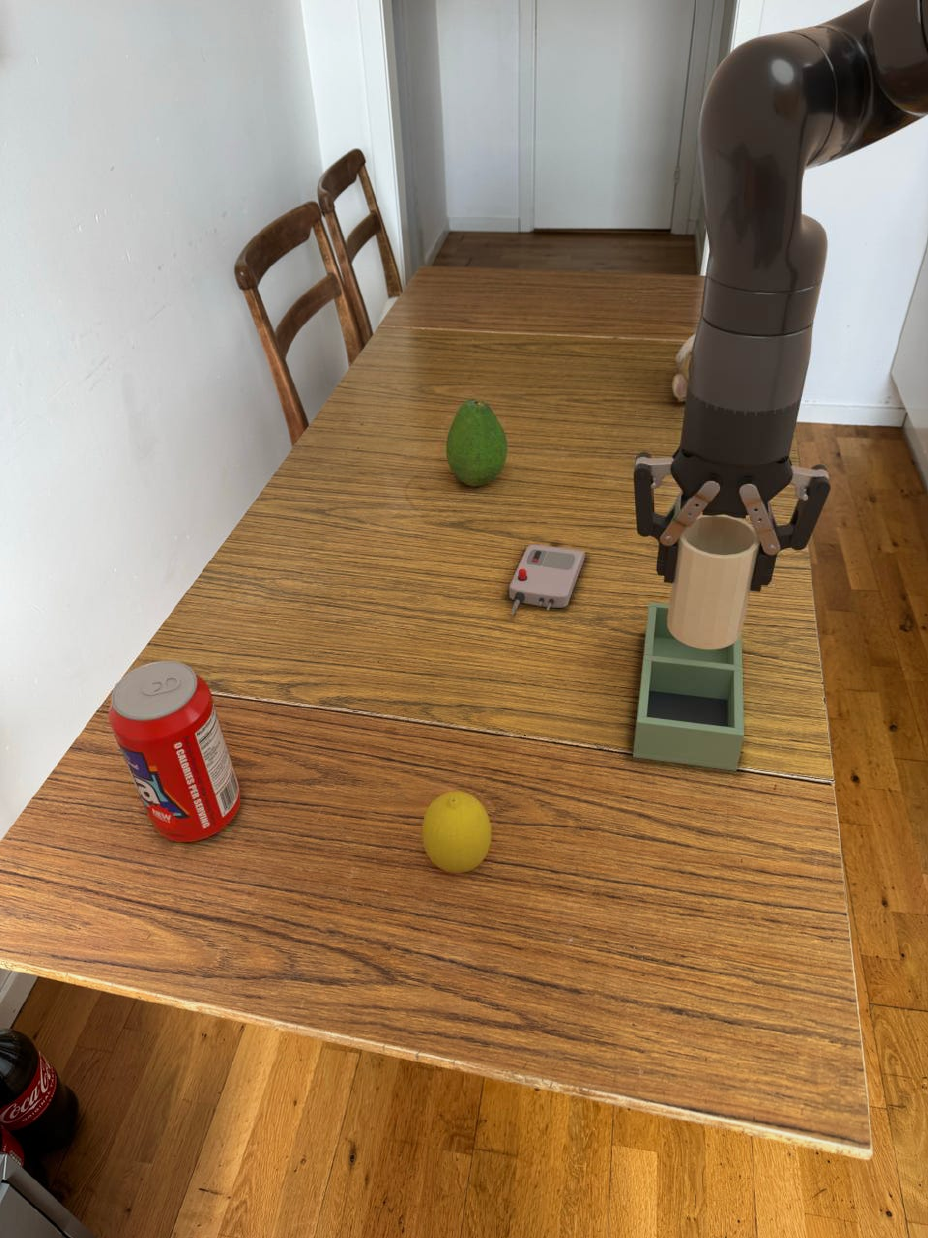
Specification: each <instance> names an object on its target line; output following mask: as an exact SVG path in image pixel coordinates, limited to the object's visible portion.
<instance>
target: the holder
mask: <svg viewBox="0 0 928 1238" xmlns="http://www.w3.org/2000/svg"><path fill="white" fill-rule="evenodd" d="M668 608H669V603H665V602H654V601H649V602H648V608H647V618H646V627H645V636H644V644H643V645H644V646H643V655H642V664H641V674H640V682H639V684H640V685H639V693H638V702H637V712H636V713H637V714H636V724H635V732H634V741H633V742H634V743H633V752H632V758H637V759H644V760H651V761H658V762H667V763H673V764H681V765H687V766H688V765H689V766H696V767H703V768H711V769H718V770H724V771H725V770H726V771H733V772H736V771H737V769H738V764H739V761H740V757H741V756H740V755H741V751H742V748H743V747H742V746H743V742H744V738H745V720H744V719H745V718H744V717H745V715H744V714H745V713H744V677H743V676H744V674H743V673H744V672H743V638H742V635H743V634H742V632H741V635H740V637H739V638H738V640H737V641H736V642H734V643H733V644H731V645H730V646H727V647H724V648H720V649H699V648H694V647H691V646H688V645H686V644H684V643H682V642H680V641H679V640H677V639H676V638H675V637H674V636H673V635H672V634H671V633H670V631H669V629H668V627H667V616H668Z"/></svg>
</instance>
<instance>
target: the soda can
mask: <svg viewBox="0 0 928 1238" xmlns="http://www.w3.org/2000/svg"><path fill="white" fill-rule="evenodd" d="M110 701H111V703H110V706H109V709H108V721H109V726H110V728H111V731H112V733H113V735H114V738H115V740H116V743H117V745H118V747H119V750H120V752H121V755H122V757H123V759H124V761H125V764H126V766H127V770H128V771H129V774H130V776H131V778H132V781H133V783H134V786H135V789H136V790H137V792H138V796H139V798H140V800H141V803H142V805H143V808H144V810H145V812H146V814H147V817H148V819H149V821H150V824H151V825H152V827H153V828H154V830H155V831H156V833H157V834H158V835H160V836H161V837H163V838H165V839H168V840H170V841H175V842H181V843H188V842H196V841H200V840H203V839H207V838H208V837H211V836H213V835H215V834H217V833H218V832H220V831H221V830H223V829H224V828H225V827H226V826H227V825H229V824H230V823H231V822H232V820H233V819H234V818H235V816H236V814H237V813H238V811H239V808H240V807H241V806H240V805H241V802H242V793H241V787H240V784H239V781H238V778H237V774H236V770H235V768H234V767H235V766H234V765H233V764H234V763H233V761H232V757H231V754H230V751H229V747H228V745H227V740H226V738H225V735H224V734H225V733H224V731H223V728H222V724H221V722H220V717H219V715H218V712H217V709H216V705H215V702H214V698H213V695H212V692H211V689H210V686H209V685H208V684H207V682H206V681H205V679H204V678H203V677H201V676H199V675H198V674H196V672H195V671H194V670H193V669H192V668H191V667H190V666H188V665H187V664H185V663H182V662H179V661H176V660H158V661H153V662H149V663H147V664H146V663H145V664H143V665H141V666H139V667H136V668H134V669H133V670H131V671H129V672H128V673H126V674H125V675H124V676H122V677H121V679H119V681H118V682H117V683H116V684H115V686H114V688H113V690H112V692H111V697H110Z"/></svg>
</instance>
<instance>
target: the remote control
mask: <svg viewBox="0 0 928 1238" xmlns="http://www.w3.org/2000/svg"><path fill="white" fill-rule="evenodd" d="M522 555H523V556H522V557H521V559H520V562H519V564H518V566H517V568H516V571H515V573H514V575H513V577H512V579H511V581H510V584H509V585H508V586H509V587H508V588H509V589H508V590H509V598H510V599H511V600H513V602H514V603H513V605H512V609H511V611H510V615H509V616H510V617H514V615H515V612H516V611H517V610H518V608H519V605H520V604H522V603H523V604H526V605H533V606H538V607H545V608H546V612H549V611H550V609H551V608H554V609H557V608H566V607H567V606H568V605H569V602H570V600H571V597H572V593H573V591H574V588H575V585H576V583H577V580H578V577H579V575H580V573H581V568H582V566H583V564H584V561H585V559H586V552H585V551H582V550H576V549H571V548H564V547H556V546H550V545H541V544H535V543H533V544H532V543H531V544H529V545H528V546H527V547H526V549H525V551H524V553H523V554H522Z"/></svg>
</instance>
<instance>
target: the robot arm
mask: <svg viewBox="0 0 928 1238" xmlns="http://www.w3.org/2000/svg"><path fill="white" fill-rule="evenodd" d="M927 116H928V0H866V1H865V2H863V3H861V4H860V5H858V6H856V7H854V8H852V9H850V10H848V11H846V12H844V13H842V14H840V15H838V16H835V17H834V18H832V19H830V20H827V21H825V22H822V23H819V24H817V25H813V26H808V27H804V28H799V29H798V28H797V29H793V30H789V31H781V32H775V33H772V34H770V33H769V34H765V35H761V36H756V37H753V38H751V39H748V40H747V41H744V42H743V43H741V44H739V45H737V46H736V47H735V48H734V49H732V50H731V51H730V52H729V53H728V54H727V55H726V57H724V58H723V60H722V61H721V62H720V64H719V65H718V66H717V69H716V70H715V72H714V73H713V75H712V77H711V80H710V82H709V83H708V86H707V89H706V91H705V94H704V98H703V100H702V104H701V109H700V112H699V116H698V117H699V118H698V124H697V140H696V141H697V143H696V144H697V159H698V160H697V161H698V169H699V179H700V187H701V197H702V206H703V217H704V224H705V229H706V236H707V241H708V251H709V252H708V258H707V262H706V269H705V277H704V282H703V283H704V284H703V291H702V299H701V308H700V314H699V321H698V325H697V328H696V331H695V333H696V335H695V339H694V343H693V348H692V354H691V360H690V362H689V367H688V370H689V378H688V386H687V394H686V401H684V403H685V404H684V411H683V417H682V419H683V420H682V425H681V434H680V442H679V445H678V448H677V449H676V450H675V452H674V453H673V454H672V456H670V457H652V454H650V453H649V452H648V451H642V452H641V451H640V452H639V453H637V455H636V456H635V462H634V468H633V490H634V506H635V521H636V524H635V525H636V533H637V534H638V535H639V536H640V537H642V538H647V537H652V538H654V539H656V541H657V542H658V549H657V557H656V568H655V571H656V574H657V576H660V577H663V583H665V584H672V583H673V577H674V570H675V562H676V555H677V548H678V543H677V540H678V538H679V537H680V536H681V534H682V533H683V532H684V531H685V529H686V528H689V527H690V526H691V525H692V524H693V523H694V521H695V520H696V519H697V517H698V516H699V515H707V516H716V515H728V516H731V517H734V518H739V519H743V520H744V519H746V518H747V516H748V517H749V519H750V522H751V525H752V526H753V528H754V530H755V532H756V534H757V535H758V537H759V540H760V545H759V550H758V555H757V560H756V565H755V570H754V575H753V580H752V585H751V590H750V592H755V593H756V592H757V593H761V590H762V586H765V587H768V586H769V585H770V584H771V582H772V580H773V575H774V571H775V566H776V563H777V561H776V560H777V557H778V555H779V553H780V552H781V551H783V550H787V549H792V550H793V551H802V550H805V549H806V548H807V546H808V544H809V542H810V539H811V537H812V534H813V532H814V530H815V527H816V525H817V523H818V521H819V518H820V515H821V513H822V512H823V508H824V506H825V503H826V501H827V500H828V496H829V494H830V492H831V490H832V489H831V481H830V475H829V471H828V468H827V466H826V465H824V464H821V463H820V464H819V463H818V464H815V465H813V466H812V467H811V468H807V467H802V466H796V465H793V464H792V460H791V458H790V455H791V449H792V444H793V440H794V436H795V431H796V427H797V422H798V416H799V411H800V407H801V402H802V398H803V394H804V389H805V383H806V381H807V380H806V379H807V374H808V369H809V365H810V359H811V354H812V342H813V329H814V323H815V318H816V312H817V307H818V303H819V298H820V295H821V294H820V293H821V289H822V283H823V279H824V275H825V268H826V263H827V257H828V251H829V250H828V248H829V243H828V241H829V240H828V235H827V232H826V229H825V228H824V226H823V225H822V223H820V222H819V221H818V220H817V219H816V218H814V217H812V216H810V215H807V214H805V213H803V180H804V176H805V173H806V172H805V171H807V170H811V169H813V168H814V169H815V168H817V167H820V166H823V165H826V164H828V163H832V162H835V161H836V160H839V159H842V158H844V157H846V156H849V155H852V154H853V153H856V152H858V151H860V150H863V149H864V148H866V147H869V146H871V145H873V144H875V143H877V142H879V141H881V140H884V139H885V138H887V137H889V136H892V135H893V134H896V133H897V132H898V131H901V130H903V129H905V128H907V127H908V126H911V125H912V124H914V123H916V122H918V121H920V120H921V119H924V118H925V117H927ZM669 475H670V476H671V477H672V478H673V480H674V481H675V483H676V484H677V486H678V487H679V489H680V490H681V491H680V492H679V493H678V495H677V496H676V499H675V500H674V503H673V505H671V507H669V509H668V511H667V513H666V514H665V515H662V514H659V513H657V512H655V511H656V509H655V492H654V491H655V490H656V489H659V488H660V487H662V485H663V483H664V482H663V481H664V478H666V477H667V476H669ZM790 484H791V485H793V486H794V492H795V497H796V498H797V499H798V500H797V501H796V504H795V506H794V509H793V511H792V515H791V517H790V520H789V522H788V523H787V524H783V525H778V523H777V521H776V518H775V515H774V512H773V509H772V505H771V502H770V501H771V500H772V499H774V498H775V497H776V496H777V495H778V494H780V493H781V492H782V491H783V490H784V489H785V488H786V487H788V486H789V485H790Z"/></svg>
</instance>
